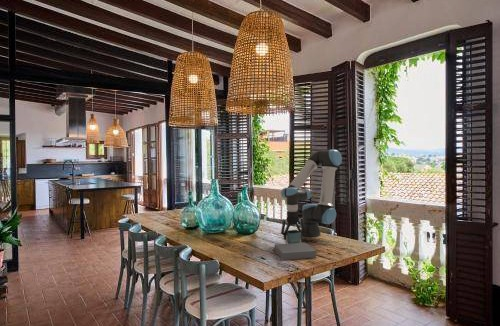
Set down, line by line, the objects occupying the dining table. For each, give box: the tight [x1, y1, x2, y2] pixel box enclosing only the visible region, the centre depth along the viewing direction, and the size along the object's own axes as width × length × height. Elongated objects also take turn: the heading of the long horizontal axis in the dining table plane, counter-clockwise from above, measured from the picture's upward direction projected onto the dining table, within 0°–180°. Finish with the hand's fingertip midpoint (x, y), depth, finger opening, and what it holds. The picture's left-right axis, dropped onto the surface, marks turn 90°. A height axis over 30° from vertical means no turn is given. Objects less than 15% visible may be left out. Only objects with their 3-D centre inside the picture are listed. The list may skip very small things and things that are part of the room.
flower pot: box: [286, 229, 302, 244], centre depth 227 cm, size 9×9×9 cm
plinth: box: [274, 242, 317, 261], centre depth 206 cm, size 20×20×4 cm
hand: (293, 244), depth 227 cm, fingers closed on flower pot, 9 cm apart
